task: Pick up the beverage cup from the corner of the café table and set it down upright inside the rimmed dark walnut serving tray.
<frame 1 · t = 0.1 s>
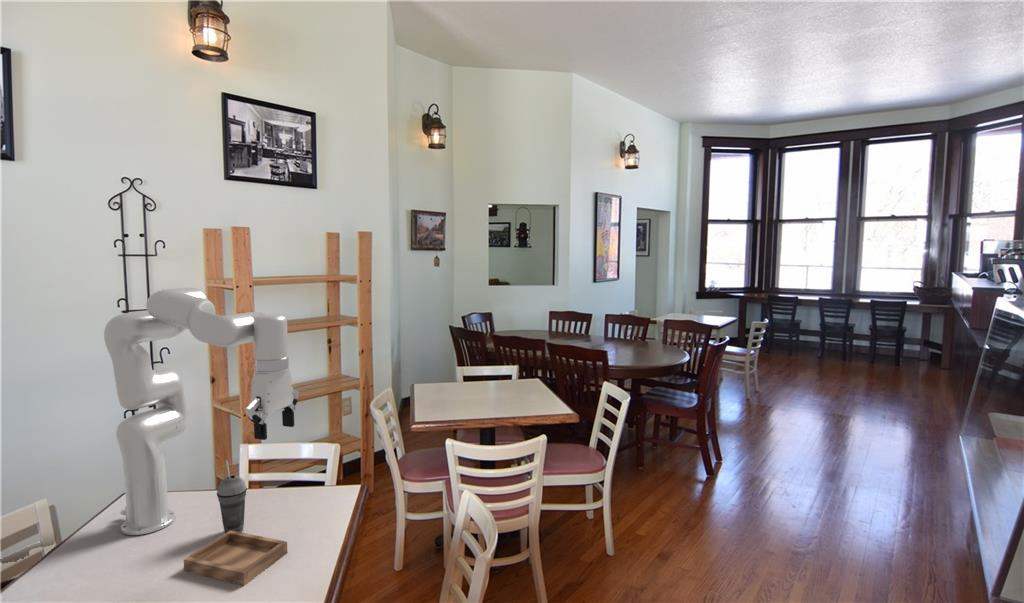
hand: (275, 432, 134), 31 cm above the table, tool pointing down, fingers open, 9 cm apart
walnut tray: (237, 561, 133), on the table
beverage cup: (234, 532, 147), on the table
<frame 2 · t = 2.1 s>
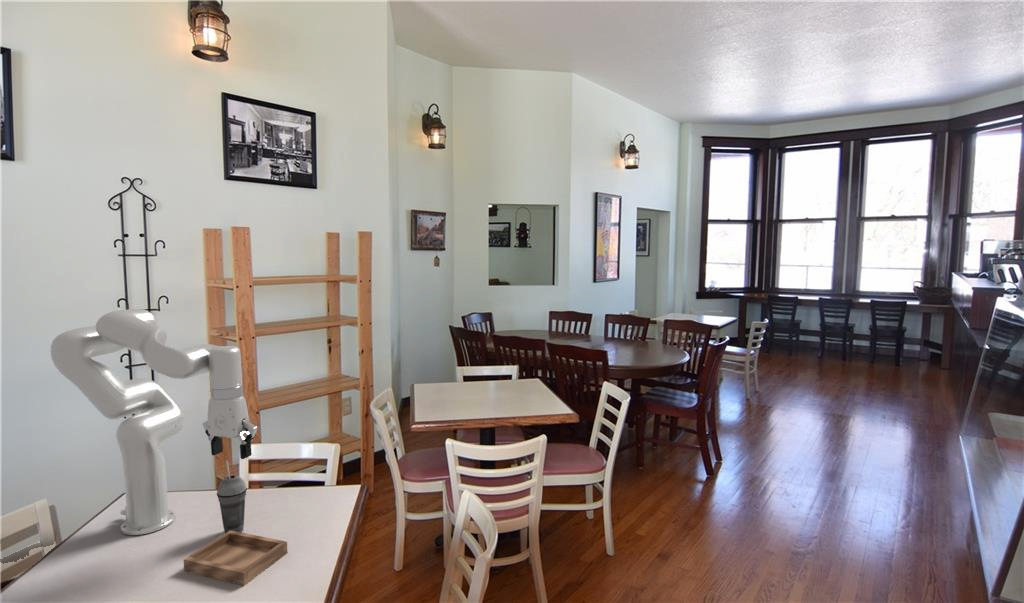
hand: (231, 455, 145), 22 cm above the table, tool pointing down, fingers open, 9 cm apart
nothing on the table moved.
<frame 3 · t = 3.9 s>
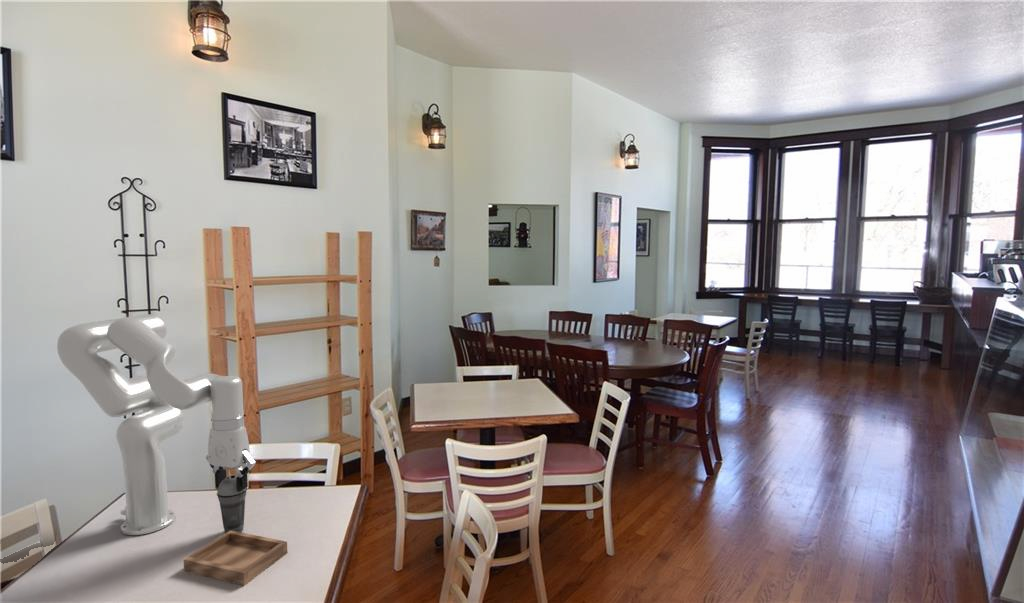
hand: (231, 487, 146), 13 cm above the table, tool pointing down, fingers closed on beverage cup, 6 cm apart
beverage cup: (234, 532, 147), on the table, touching gripper
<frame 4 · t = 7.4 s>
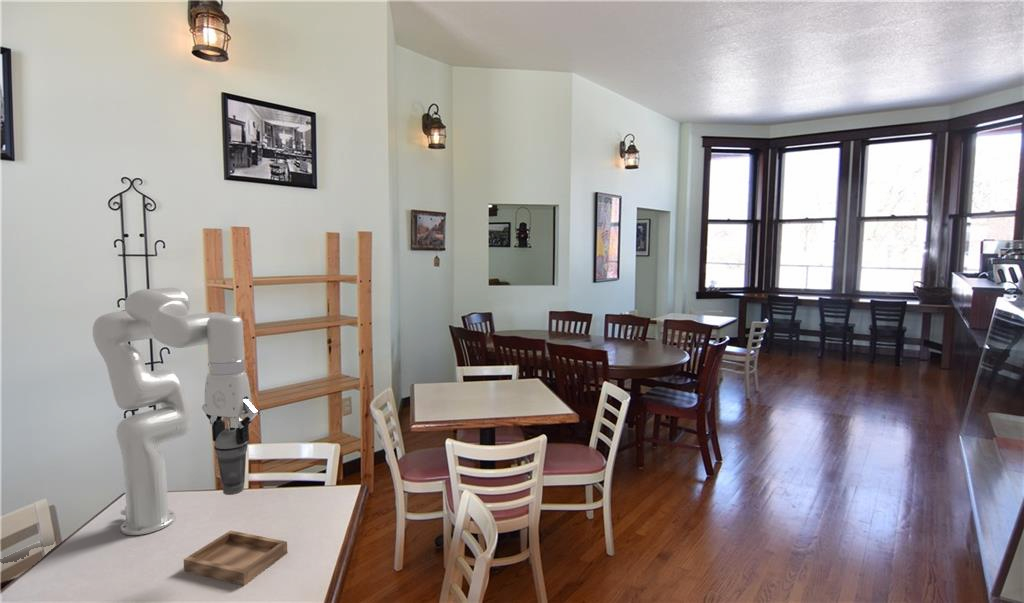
hand: (230, 440, 130), 31 cm above the table, tool pointing down, fingers closed on beverage cup, 6 cm apart
beverage cup: (233, 491, 131), point 18 cm above the table, touching gripper
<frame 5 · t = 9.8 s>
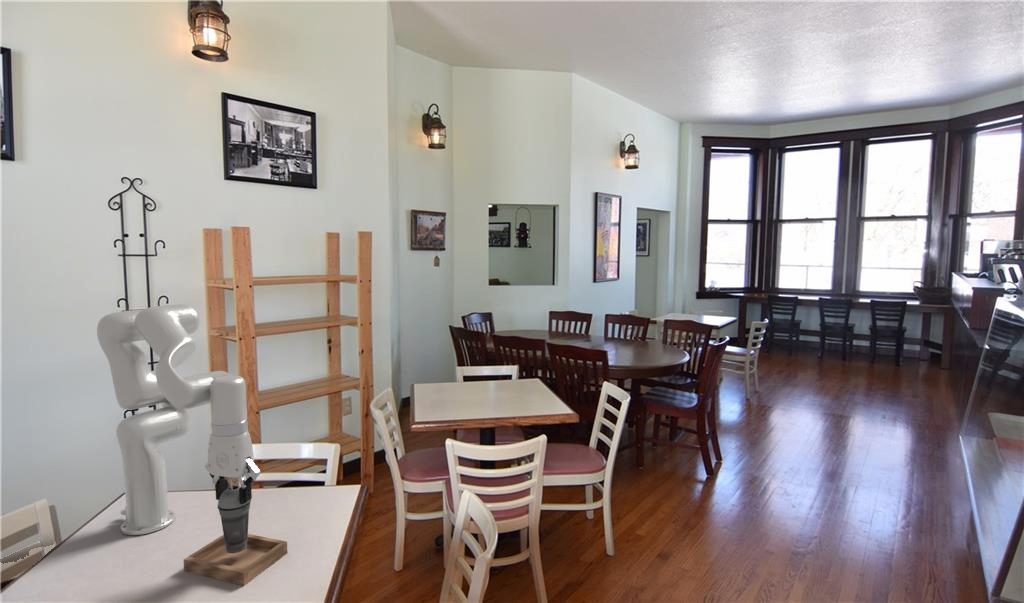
hand: (234, 498, 131), 16 cm above the table, tool pointing down, fingers closed on beverage cup, 6 cm apart
beverage cup: (236, 549, 133), point 3 cm above the table, touching gripper
when the fingers open (15 cm above the table, at t = 11.1 s): beverage cup drops 1 cm, resting on walnut tray.
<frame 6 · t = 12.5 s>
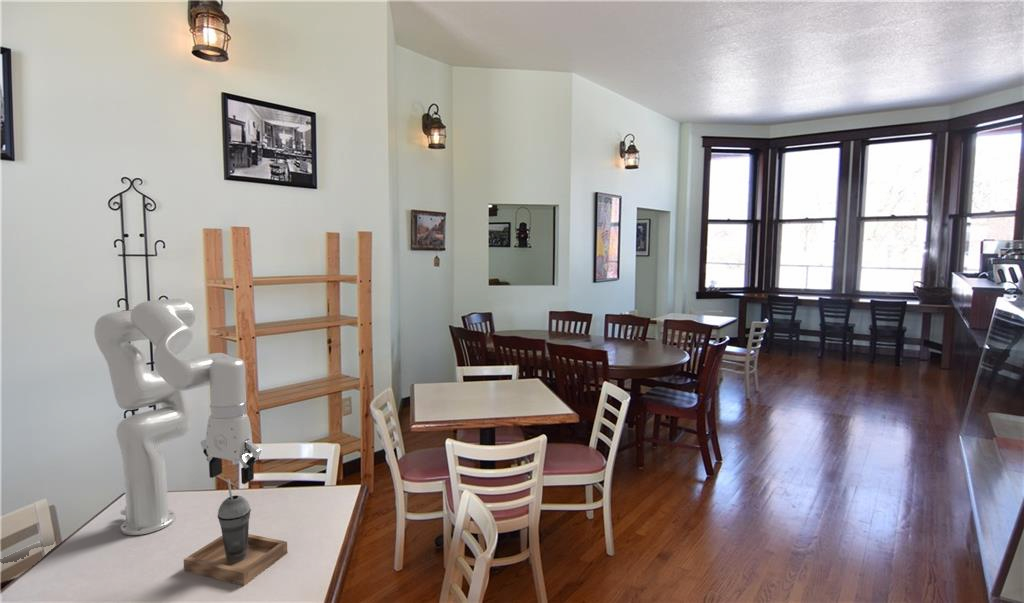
hand: (231, 478, 131), 21 cm above the table, tool pointing down, fingers open, 9 cm apart
beverage cup: (236, 558, 133), point 1 cm above the table, touching walnut tray
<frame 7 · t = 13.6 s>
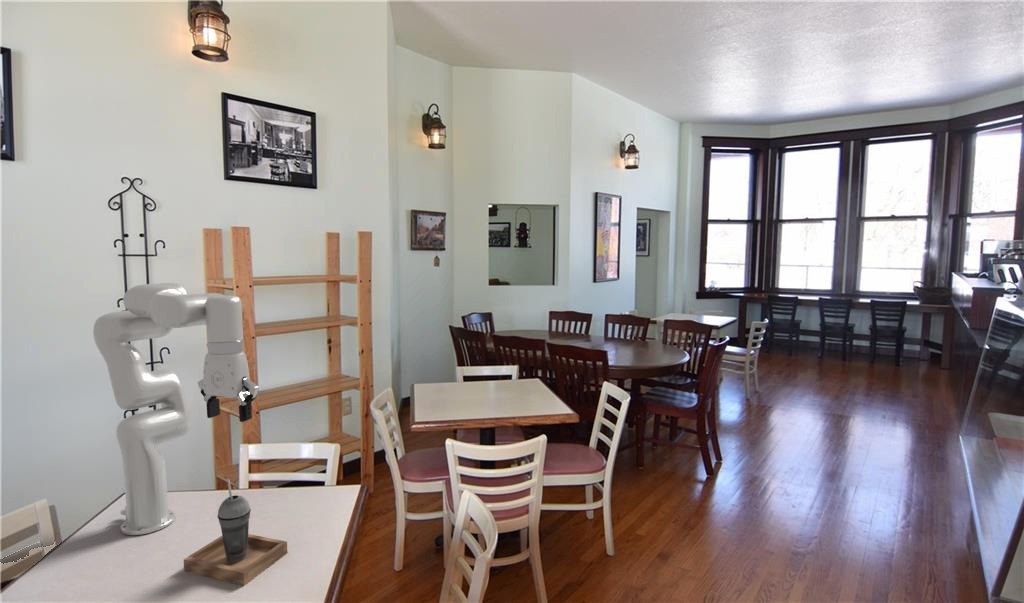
hand: (229, 418, 129), 36 cm above the table, tool pointing down, fingers open, 9 cm apart
nothing on the table moved.
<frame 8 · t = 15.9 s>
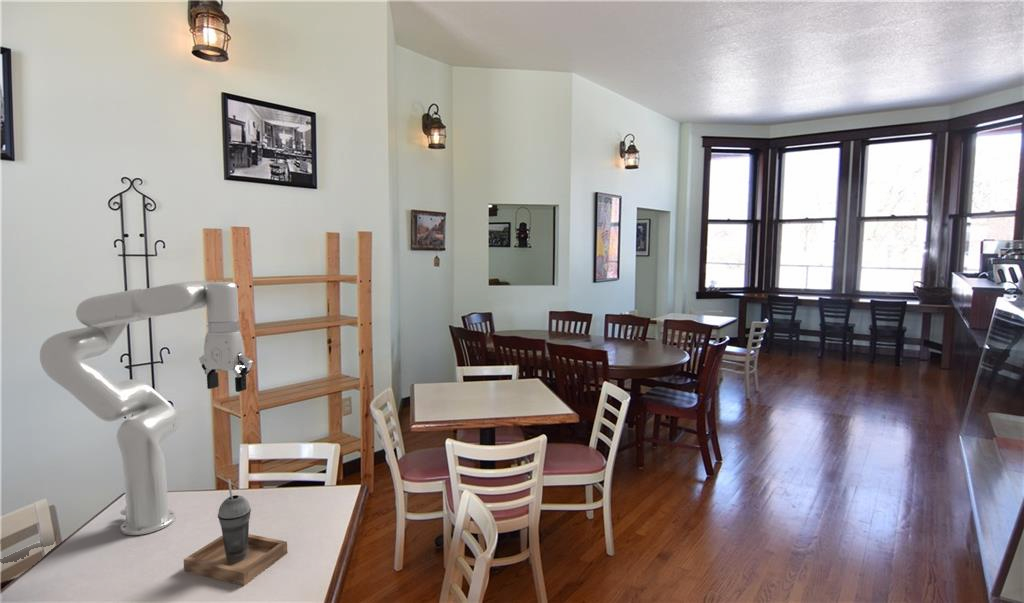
hand: (227, 389, 148), 38 cm above the table, tool pointing down, fingers open, 9 cm apart
nothing on the table moved.
at the end: beverage cup inside the target area on the walnut tray (0.2 cm from its centre), point 0.8 cm above the walnut tray's base; beverage cup tilted 0°; the gripper is holding nothing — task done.
